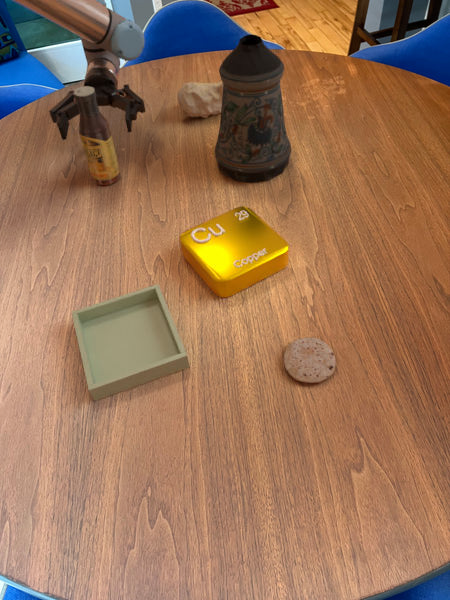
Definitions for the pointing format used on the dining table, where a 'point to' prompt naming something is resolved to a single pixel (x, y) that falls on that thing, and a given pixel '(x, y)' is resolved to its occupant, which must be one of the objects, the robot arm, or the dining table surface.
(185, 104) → the beige rock
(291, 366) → the flatbread
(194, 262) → the element tile
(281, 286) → the dining table surface
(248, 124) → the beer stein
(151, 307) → the serving tray
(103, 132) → the sauce bottle
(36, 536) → the dining table surface
